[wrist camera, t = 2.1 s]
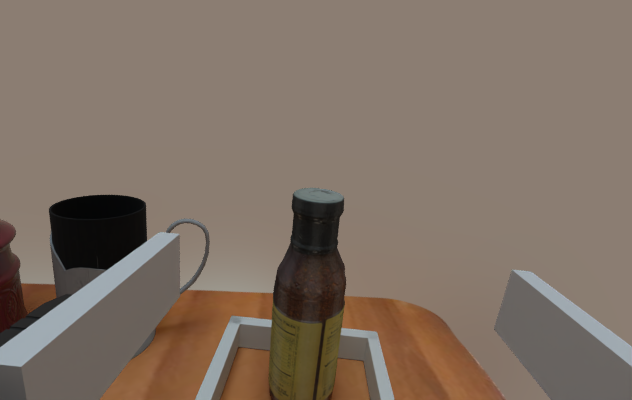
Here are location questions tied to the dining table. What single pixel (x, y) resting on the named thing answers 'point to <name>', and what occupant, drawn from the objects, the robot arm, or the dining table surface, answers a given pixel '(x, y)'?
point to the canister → (9, 280)
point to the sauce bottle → (308, 301)
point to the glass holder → (100, 240)
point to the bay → (259, 337)
